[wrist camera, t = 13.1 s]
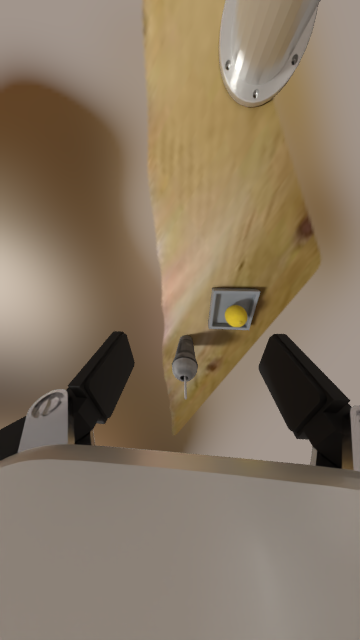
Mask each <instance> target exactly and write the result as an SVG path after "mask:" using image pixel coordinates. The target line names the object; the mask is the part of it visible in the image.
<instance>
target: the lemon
mask: <svg viewBox="0 0 360 640" xmlns="http://www.w3.org/2000/svg"><path fill="white" fill-rule="evenodd" d="M247 318H248V316H247V312H246V311H245V309H244V308H243V307H241V306H239V305H232V306H230V307H228V308H227V309H226V311H225V319H226V321H227V322H228V324H229V325H231V326H233V327H241V326H243V325H244V324H245V323H246V322H247Z"/></svg>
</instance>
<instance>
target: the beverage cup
mask: <svg viewBox="0 0 360 640" xmlns="http://www.w3.org/2000/svg"><path fill="white" fill-rule="evenodd" d="M197 368H198V364H197V362H196V359H195V353H194V346H193V341H192V338H191V337H190V336H187V335H185V336H182V337H181V338H180V341H179V344H178V347H177V351H176V355H175V358H174V361H173V363H172V370H173V374H174V375H175V377H176V378H177V379H178V380H180V381H184V394H185V399H187V392H186V381H190V380H191V379H193V378H194V376H195V375H196V373H197Z"/></svg>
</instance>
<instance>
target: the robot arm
mask: <svg viewBox="0 0 360 640" xmlns="http://www.w3.org/2000/svg"><path fill="white" fill-rule="evenodd" d="M319 2H320V0H226V1H225V5H224V10H223V14H222V21H221V28H220V38H219V63H220V69H221V75H222V78H223V82H224V85H225V87H226V89H227V91H228V93H229V94H230V96H231V97H232V98H233V99H234V100H235V101H236V102H237V103H239V104H240V105H243V106H246V107H256V106H259V105H262V104H264V103H266V102H268V101H269V100H271V99H272V98H273V97H274V96H275V95H277V94H278V92H280V90H281V89H282V88H283V87H284V86H285V85H286V83H287V82H288V80H289V79H290V77H291V76H292V74H293V73H294V71H295V69H296V68H297V66H298V64H299V62H300V60H301V58H302V56H303V54H304V52H305V49H306V47H307V45H308V42H309V39H310V36H311V33H312V30H313V26H314V22H315V18H316V14H317V7H318V4H319ZM226 69H227V70H226ZM253 97H255V98H253ZM133 367H134V359H133V355H132V352H131V348H130V345H129V342H128V339H127V335H126V334H124V332H116V331H115V332H113V333H112V334H111V335H110V336H109V337H108V339H107V340H106V341H105V342H104V343H103V345H102V346H101V347H100V348H99V349H98V351H97V352H96V353H95V354H94V355H93V356H92V358H91V359H90V360H89V361H88V362H87V364H86V365H85V366H84V367H83V368H82V369H81V371H80V372H79V373H78V374H77V376H76V377H75V378H74V379H73V380H72V381H71V382H70V384H69V385H68V387H69V388H68V389H67V390H64V389H58V390H54V391H51V392H49V393H47V394H45V395H43V396H42V397H41V398H39V399H38V400H37V401H36V402H35V403H34V404H33V405H32V406H31V408H30V409H29V411H28V413H27V416H25V417H23V418H21V419H19V420H17V421H16V422H14V423H12V424H10V425H8V426H6V427H4V428H3V429H1V430H0V640H360V406H353V407H351V406H350V405H349V404H348V402H349V401H350V400H349V399H348V398H347V397H346V396H345V395H344V394H343V393H342V392H341V391H340V390H339V389H338V388H337V386H336V385H335V384H334V383H333V382H332V381H331V380H330V379H328V377H327V376H326V375H325V374H324V373H323V372H322V371H321V370H320V369H319V368H318V367H317V366H316V365H315V364H314V363H313V362H312V361H311V360H310V359H309V358H308V357H307V356H306V355H305V354H304V353H303V352H302V351H301V349H299V347H298V346H296V344H295V343H294V342H293V341H292V340H291V339H290V338H289V337H288V336H287V335H285V334H274V335H272V336H271V337H270V338H269V340H268V343H267V345H266V348H265V351H264V353H263V356H262V359H261V361H260V364H259V371H260V373H261V375H262V377H263V379H264V381H265V383H266V385H267V387H268V389H269V391H270V392H271V395H272V397H273V399H274V401H275V403H276V405H277V407H278V409H279V411H280V413H281V414H282V417H283V418H284V420H285V423H286V424H287V426H288V428H289V429H290V430H291V431H293V433H294V435H295V436H296V438H297V439H309V441H310V442H311V444H312V455H311V462H310V465H303V464H293V463H283V462H273V461H263V460H252V459H241V458H231V457H219V456H209V455H199V454H188V453H176V452H165V451H154V450H143V449H131V448H119V447H107V446H95V440H94V433H93V428H94V426H95V424H96V423H99V424H105V423H106V421H107V418H109V417H110V416H111V415H112V413H113V411H114V408H115V406H116V404H117V402H118V400H119V398H120V395H121V393H122V391H123V389H124V387H125V384H126V382H127V380H128V378H129V376H130V374H131V371H132V369H133Z"/></svg>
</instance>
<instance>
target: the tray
mask: <svg viewBox="0 0 360 640" xmlns="http://www.w3.org/2000/svg"><path fill="white" fill-rule="evenodd" d="M259 295H260V291H259V290H257V289H242V288H212V295H211V304H210V312H209V321H208V326H209V329H234V330H249V328H250V325H251V321H252V318H253V315H254V311H255V308H256V305H257V301H258V298H259ZM232 305H239V306H241V307H243V308H244V309H245V311H246V312H247V316H248V318H247V322H246V323H245V324H244V325H243V326H241V327H233V326H231V325H229V324H228V322H227V321H226V319H225V311H226V309H227V308H228V307H230V306H232Z"/></svg>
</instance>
